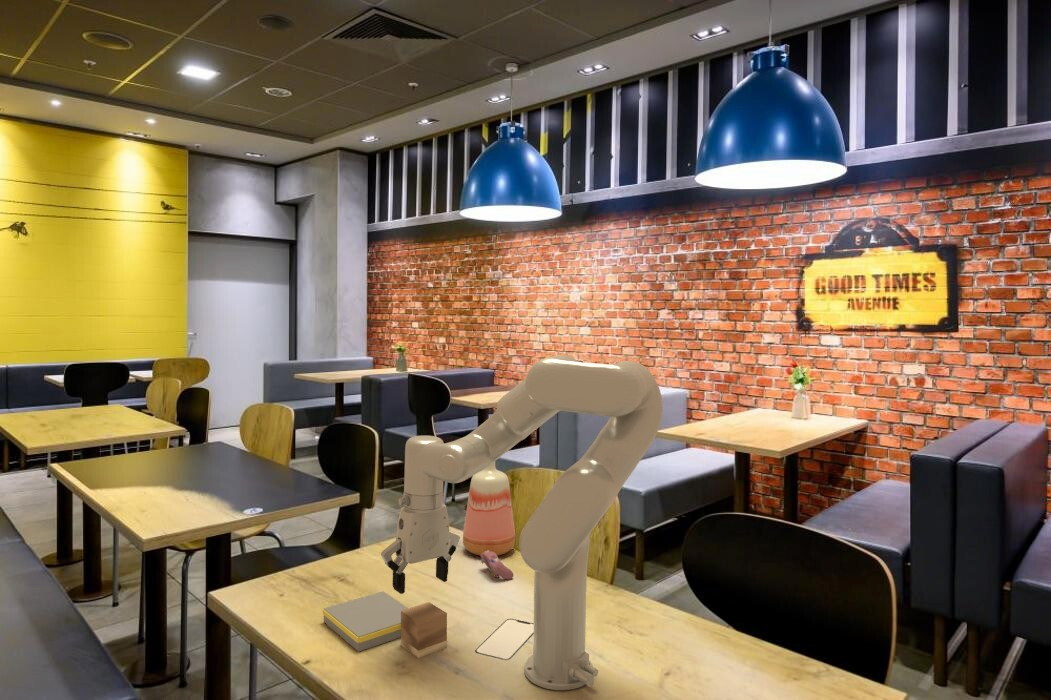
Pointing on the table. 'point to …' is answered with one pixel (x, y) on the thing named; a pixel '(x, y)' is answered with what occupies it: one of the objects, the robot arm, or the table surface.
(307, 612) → the table surface
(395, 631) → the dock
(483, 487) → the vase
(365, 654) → the table surface
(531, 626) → the smartphone
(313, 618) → the table surface
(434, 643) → the brown wooden block
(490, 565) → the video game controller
